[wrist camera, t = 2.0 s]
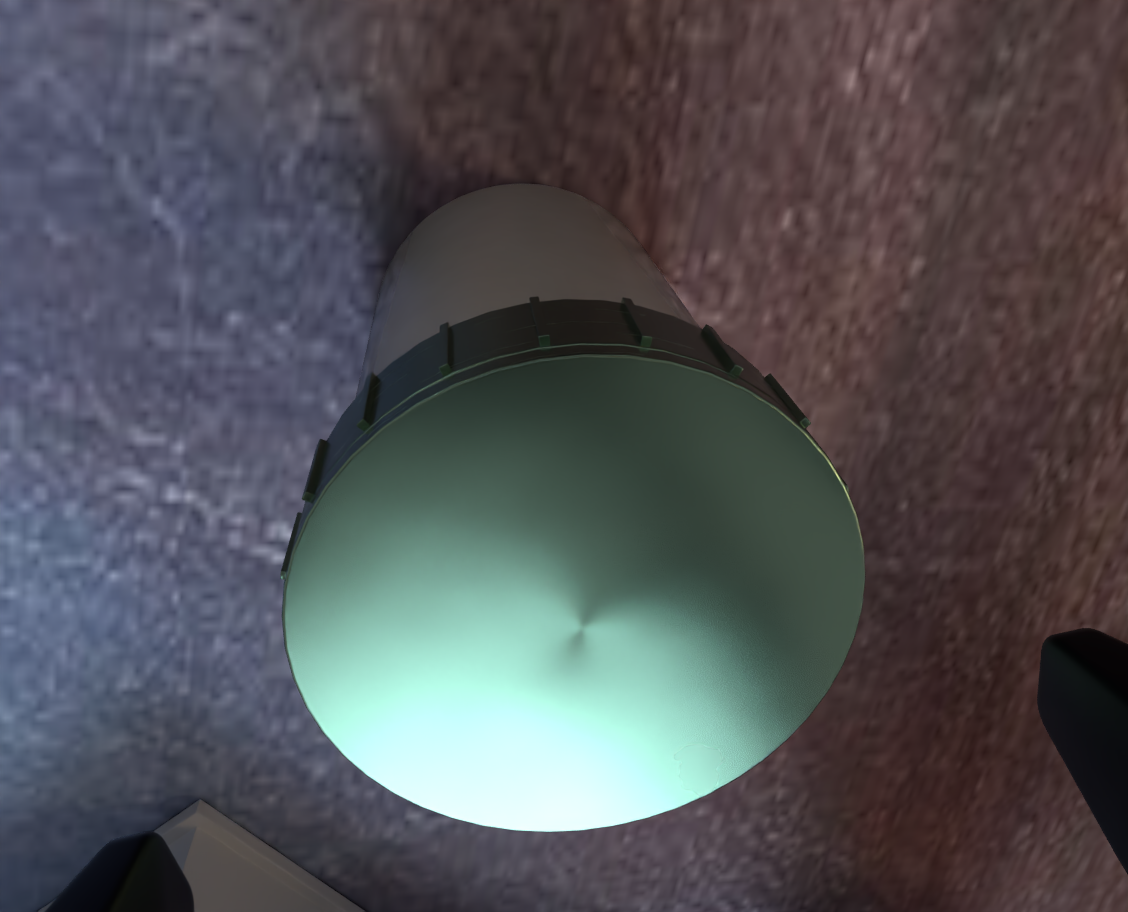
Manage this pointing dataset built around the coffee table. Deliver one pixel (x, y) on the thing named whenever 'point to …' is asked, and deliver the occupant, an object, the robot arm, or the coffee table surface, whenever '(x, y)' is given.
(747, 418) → the jar lid
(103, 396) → the coffee table surface
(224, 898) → the book
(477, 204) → the jar
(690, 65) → the coffee table surface
